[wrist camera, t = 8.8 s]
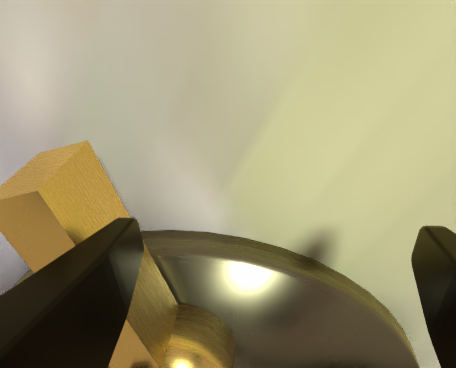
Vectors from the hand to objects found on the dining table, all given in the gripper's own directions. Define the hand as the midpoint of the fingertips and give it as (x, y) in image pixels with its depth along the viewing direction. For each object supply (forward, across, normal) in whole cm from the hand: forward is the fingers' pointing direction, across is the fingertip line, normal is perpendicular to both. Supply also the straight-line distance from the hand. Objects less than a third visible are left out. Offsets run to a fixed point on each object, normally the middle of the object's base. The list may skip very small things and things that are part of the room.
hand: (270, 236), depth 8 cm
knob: (+1, +4, +3) cm, 5 cm away
